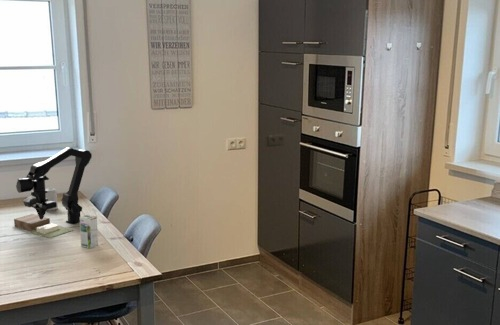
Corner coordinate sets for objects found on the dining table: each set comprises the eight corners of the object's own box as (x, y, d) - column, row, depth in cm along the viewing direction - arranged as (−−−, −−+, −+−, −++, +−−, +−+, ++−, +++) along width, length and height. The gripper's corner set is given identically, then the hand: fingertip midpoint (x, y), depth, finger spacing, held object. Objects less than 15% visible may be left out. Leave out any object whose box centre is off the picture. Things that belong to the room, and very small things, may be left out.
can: (60, 207, 311) (58, 187, 309) (54, 211, 304) (52, 190, 302) (47, 207, 312) (46, 187, 310) (41, 210, 305) (40, 190, 302)
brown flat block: (50, 225, 279) (49, 218, 278) (31, 231, 270) (30, 223, 269) (33, 221, 286) (32, 213, 285) (14, 226, 277) (14, 219, 276)
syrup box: (80, 246, 249) (78, 216, 246) (89, 242, 254) (88, 213, 252) (89, 248, 247) (88, 218, 244) (98, 244, 252) (97, 215, 249)
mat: (72, 230, 272) (72, 229, 271) (49, 238, 260) (49, 237, 260) (52, 224, 280) (52, 224, 280) (28, 232, 268) (28, 231, 268)
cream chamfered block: (51, 223, 275) (51, 226, 276) (36, 227, 268) (36, 231, 268) (59, 225, 272) (59, 228, 273) (44, 229, 265) (44, 233, 265)
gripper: (13, 190, 268) (15, 219, 271) (37, 195, 258) (39, 226, 261) (33, 185, 277) (35, 214, 280) (56, 190, 267) (58, 220, 270)
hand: (41, 219), depth 273 cm, fingers closed
